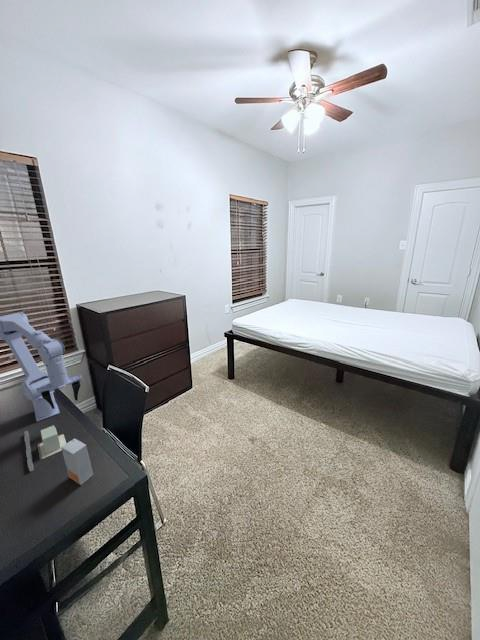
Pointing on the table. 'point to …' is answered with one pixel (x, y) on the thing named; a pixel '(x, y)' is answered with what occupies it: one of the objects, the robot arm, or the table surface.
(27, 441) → the rail
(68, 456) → the skincare box
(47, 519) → the table surface
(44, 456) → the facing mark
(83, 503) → the table surface
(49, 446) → the sage carton
